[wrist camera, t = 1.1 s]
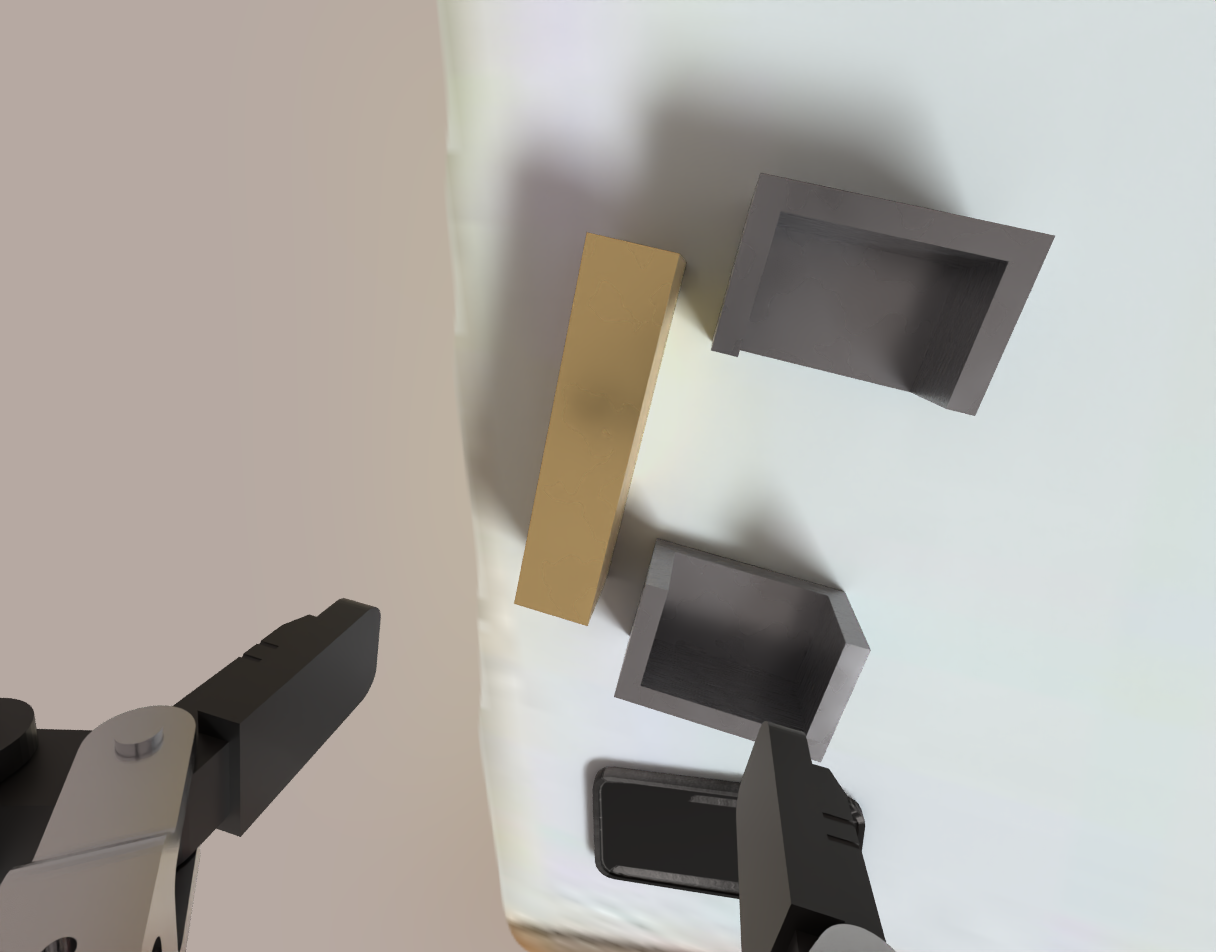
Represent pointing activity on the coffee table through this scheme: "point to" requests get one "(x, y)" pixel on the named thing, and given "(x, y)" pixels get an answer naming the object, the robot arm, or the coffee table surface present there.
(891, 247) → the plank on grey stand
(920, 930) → the coffee table surface
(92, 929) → the robot arm
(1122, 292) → the coffee table surface
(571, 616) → the link bar
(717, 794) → the phone
